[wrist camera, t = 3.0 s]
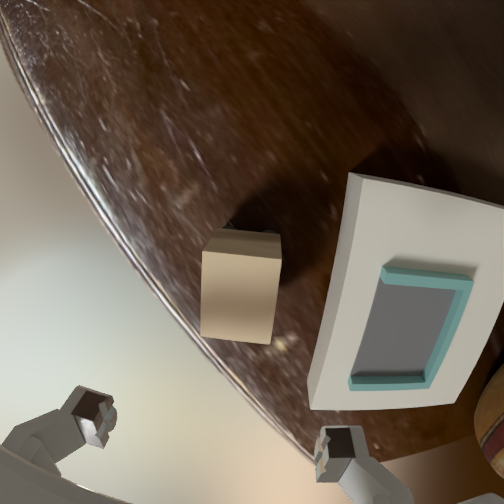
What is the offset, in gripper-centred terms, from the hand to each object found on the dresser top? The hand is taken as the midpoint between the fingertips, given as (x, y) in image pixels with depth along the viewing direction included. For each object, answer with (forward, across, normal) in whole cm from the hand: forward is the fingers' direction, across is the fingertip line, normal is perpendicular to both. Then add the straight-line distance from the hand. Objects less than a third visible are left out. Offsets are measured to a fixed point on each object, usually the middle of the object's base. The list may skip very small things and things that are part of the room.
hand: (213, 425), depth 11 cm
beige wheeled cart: (+16, 0, -1) cm, 16 cm away
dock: (+16, -15, +1) cm, 22 cm away
